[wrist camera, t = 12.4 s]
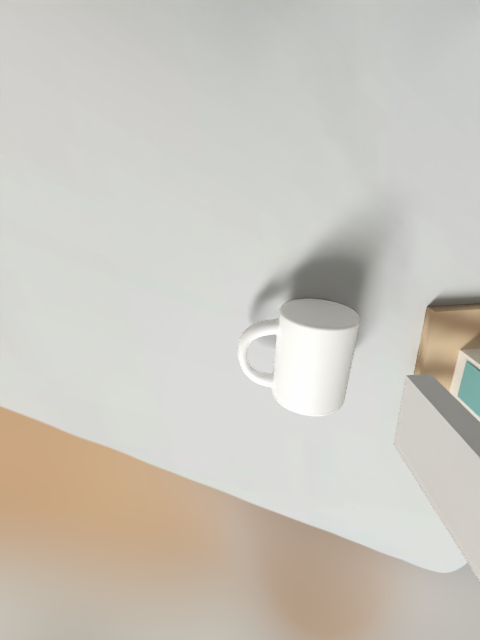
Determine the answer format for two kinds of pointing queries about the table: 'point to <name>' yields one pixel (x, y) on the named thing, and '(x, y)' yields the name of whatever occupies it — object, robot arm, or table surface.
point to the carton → (467, 380)
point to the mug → (307, 355)
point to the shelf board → (447, 339)
